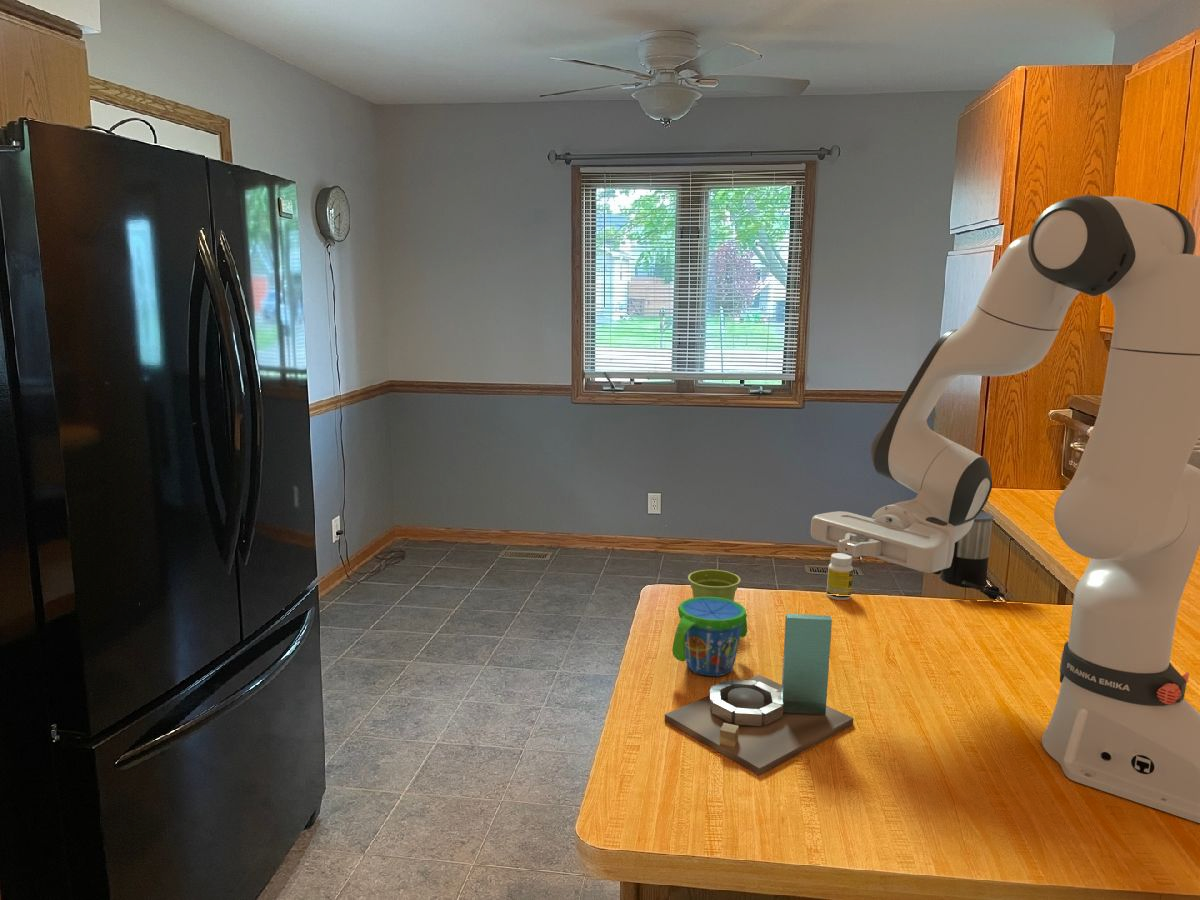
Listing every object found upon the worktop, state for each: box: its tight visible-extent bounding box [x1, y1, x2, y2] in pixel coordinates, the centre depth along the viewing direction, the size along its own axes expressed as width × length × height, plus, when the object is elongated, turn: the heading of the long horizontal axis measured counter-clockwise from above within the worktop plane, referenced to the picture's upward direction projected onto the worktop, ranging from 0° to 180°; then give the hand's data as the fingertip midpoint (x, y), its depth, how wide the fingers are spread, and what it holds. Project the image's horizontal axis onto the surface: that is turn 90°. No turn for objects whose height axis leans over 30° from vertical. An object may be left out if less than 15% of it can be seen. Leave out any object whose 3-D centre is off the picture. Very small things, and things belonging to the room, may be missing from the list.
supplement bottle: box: [826, 552, 854, 601], centre depth 164 cm, size 5×5×8 cm
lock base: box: [664, 674, 854, 776], centre depth 115 cm, size 17×20×3 cm
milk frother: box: [932, 510, 1005, 601], centre depth 169 cm, size 14×16×15 cm
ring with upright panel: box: [709, 613, 833, 726], centre depth 116 cm, size 13×13×14 cm
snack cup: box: [671, 597, 748, 677], centre depth 132 cm, size 16×10×10 cm
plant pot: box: [687, 569, 741, 601], centre depth 150 cm, size 9×9×9 cm
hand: (846, 549), depth 117 cm, fingers closed
